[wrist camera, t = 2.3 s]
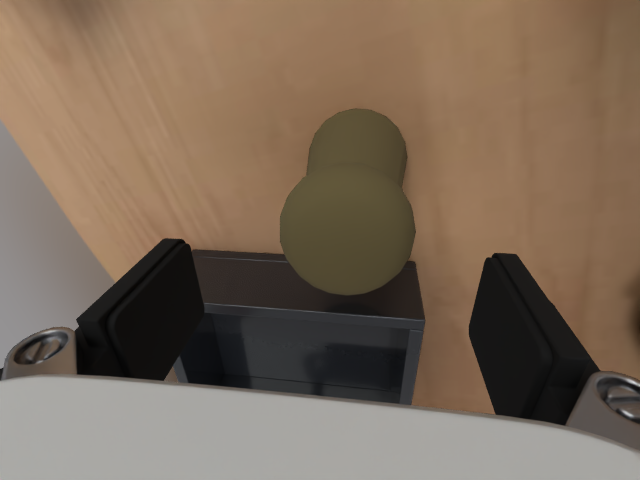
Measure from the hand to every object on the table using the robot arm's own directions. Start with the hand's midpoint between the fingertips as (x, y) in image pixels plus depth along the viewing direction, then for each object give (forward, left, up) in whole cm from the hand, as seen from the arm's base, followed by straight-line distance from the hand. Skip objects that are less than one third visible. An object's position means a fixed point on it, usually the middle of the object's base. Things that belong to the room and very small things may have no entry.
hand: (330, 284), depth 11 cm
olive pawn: (0, 0, -13) cm, 13 cm away
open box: (+14, -4, -12) cm, 19 cm away
